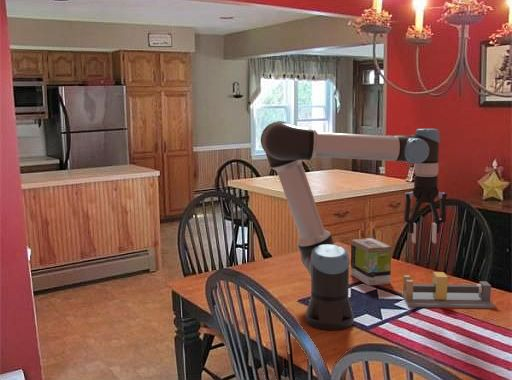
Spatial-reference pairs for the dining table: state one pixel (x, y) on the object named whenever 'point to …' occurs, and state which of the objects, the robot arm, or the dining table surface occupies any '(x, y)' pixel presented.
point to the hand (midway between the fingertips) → (423, 242)
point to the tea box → (371, 261)
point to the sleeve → (440, 285)
